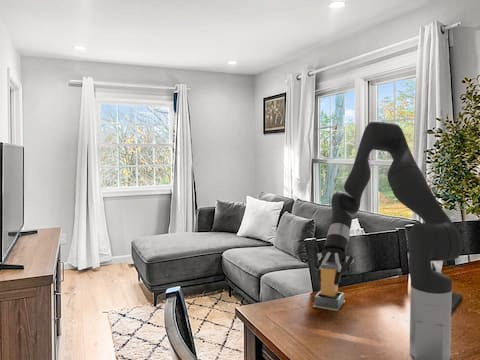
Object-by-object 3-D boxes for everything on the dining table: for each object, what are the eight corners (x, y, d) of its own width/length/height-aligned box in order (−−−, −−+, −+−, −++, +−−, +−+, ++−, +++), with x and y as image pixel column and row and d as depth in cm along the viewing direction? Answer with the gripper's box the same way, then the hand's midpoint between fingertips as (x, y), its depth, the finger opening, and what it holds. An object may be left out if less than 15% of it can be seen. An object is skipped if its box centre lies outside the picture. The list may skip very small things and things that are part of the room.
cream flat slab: (337, 314, 126) (337, 310, 126) (313, 310, 129) (313, 306, 129) (345, 304, 134) (345, 300, 134) (321, 300, 138) (321, 296, 138)
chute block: (334, 296, 129) (334, 266, 128) (320, 294, 131) (320, 264, 130) (337, 292, 133) (338, 262, 132) (324, 290, 135) (324, 261, 134)
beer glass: (421, 287, 150) (422, 248, 149) (422, 282, 156) (423, 244, 155) (442, 290, 147) (442, 250, 146) (442, 285, 153) (443, 246, 152)
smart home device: (421, 305, 129) (437, 289, 145) (421, 310, 129) (437, 294, 145) (449, 311, 124) (462, 294, 139) (449, 317, 124) (462, 299, 139)
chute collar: (338, 309, 127) (338, 300, 126) (314, 305, 130) (314, 296, 130) (343, 301, 133) (343, 292, 133) (321, 297, 137) (321, 289, 137)
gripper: (315, 231, 140) (304, 274, 131) (356, 234, 134) (348, 280, 124) (319, 243, 145) (309, 285, 136) (359, 247, 139) (351, 291, 129)
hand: (327, 282), depth 130 cm, fingers closed on chute block, 4 cm apart
